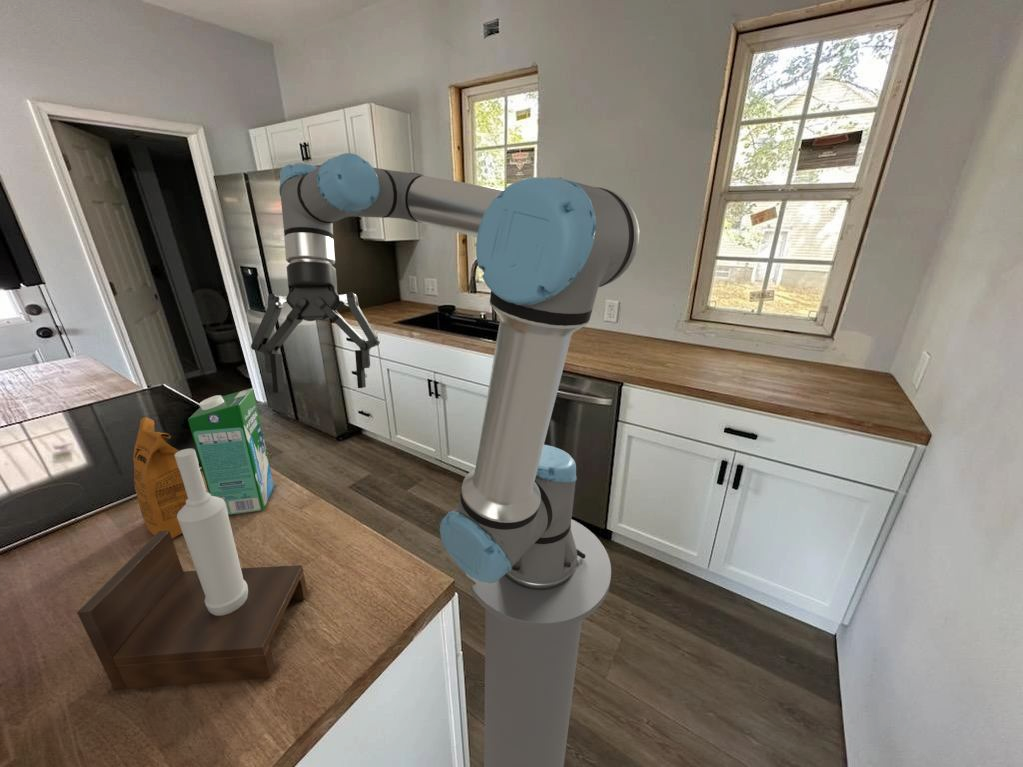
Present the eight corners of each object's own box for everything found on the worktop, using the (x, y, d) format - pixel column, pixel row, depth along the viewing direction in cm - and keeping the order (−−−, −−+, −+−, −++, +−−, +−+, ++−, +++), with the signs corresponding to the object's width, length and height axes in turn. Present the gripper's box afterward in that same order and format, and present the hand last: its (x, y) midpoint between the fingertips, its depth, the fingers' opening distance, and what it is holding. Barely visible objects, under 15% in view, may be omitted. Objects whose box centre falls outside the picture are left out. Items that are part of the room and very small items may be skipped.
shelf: (307, 592, 69) (294, 525, 64) (270, 678, 56) (250, 601, 51) (182, 599, 67) (158, 530, 62) (114, 690, 54) (76, 612, 49)
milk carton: (230, 491, 94) (203, 390, 85) (274, 486, 96) (253, 387, 87) (215, 517, 85) (184, 408, 77) (263, 510, 88) (238, 404, 79)
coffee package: (199, 497, 91) (172, 407, 83) (218, 522, 84) (191, 426, 76) (141, 519, 84) (106, 423, 76) (157, 549, 77) (120, 446, 69)
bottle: (256, 596, 61) (218, 449, 52) (219, 623, 57) (170, 468, 48) (237, 581, 63) (197, 438, 54) (200, 606, 59) (150, 455, 50)
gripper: (390, 268, 75) (398, 384, 76) (243, 271, 72) (254, 392, 73) (383, 258, 67) (391, 387, 69) (219, 261, 64) (231, 395, 65)
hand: (321, 390), depth 71 cm, fingers open, 13 cm apart
